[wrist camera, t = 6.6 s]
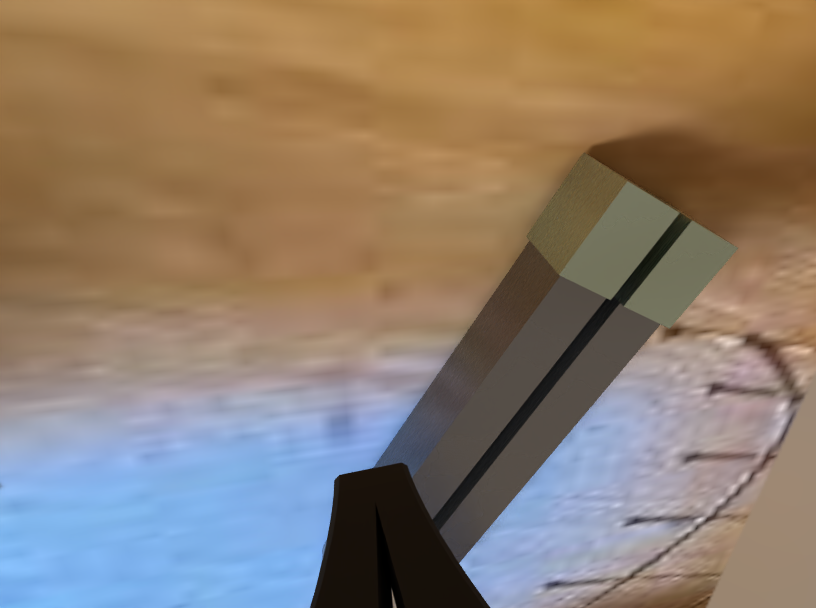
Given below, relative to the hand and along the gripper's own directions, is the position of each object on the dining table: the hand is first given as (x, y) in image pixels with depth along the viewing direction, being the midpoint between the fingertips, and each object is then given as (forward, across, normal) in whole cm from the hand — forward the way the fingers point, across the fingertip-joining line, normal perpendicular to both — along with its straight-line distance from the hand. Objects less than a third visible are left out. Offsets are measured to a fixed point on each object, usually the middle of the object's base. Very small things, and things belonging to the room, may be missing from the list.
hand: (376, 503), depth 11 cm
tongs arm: (+8, -4, +4) cm, 10 cm away
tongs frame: (+8, -4, +6) cm, 11 cm away
